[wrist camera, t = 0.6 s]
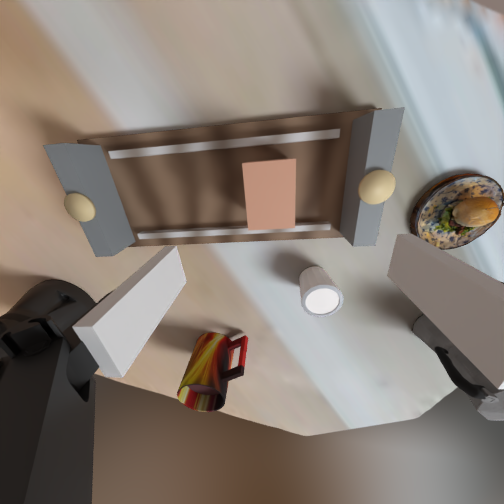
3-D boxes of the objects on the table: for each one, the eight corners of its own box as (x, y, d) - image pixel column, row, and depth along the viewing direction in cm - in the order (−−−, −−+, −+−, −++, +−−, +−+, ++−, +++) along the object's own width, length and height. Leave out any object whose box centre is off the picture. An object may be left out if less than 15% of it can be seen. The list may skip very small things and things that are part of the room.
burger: (400, 245, 35) (431, 266, 28) (422, 174, 30) (467, 179, 23) (473, 245, 34) (524, 267, 27) (509, 172, 29) (583, 176, 22)
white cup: (292, 268, 38) (297, 290, 32) (328, 259, 37) (341, 280, 31) (299, 295, 41) (305, 320, 35) (333, 288, 40) (346, 313, 33)
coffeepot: (480, 317, 40) (624, 426, 24) (446, 347, 44) (549, 456, 28) (413, 295, 39) (517, 394, 23) (384, 328, 43) (455, 430, 27)
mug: (249, 332, 47) (243, 385, 36) (224, 363, 52) (213, 417, 42) (212, 315, 45) (195, 365, 34) (191, 349, 51) (170, 401, 40)
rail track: (123, 245, 39) (114, 250, 36) (82, 140, 31) (68, 139, 29) (357, 234, 34) (363, 239, 32) (377, 109, 26) (388, 105, 24)
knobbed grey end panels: (118, 242, 37) (90, 258, 31) (80, 147, 30) (34, 145, 24) (360, 231, 33) (381, 247, 27) (380, 117, 26) (413, 105, 20)
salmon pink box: (252, 214, 33) (248, 230, 26) (248, 161, 29) (242, 163, 22) (288, 212, 32) (294, 228, 25) (289, 158, 29) (296, 158, 21)
